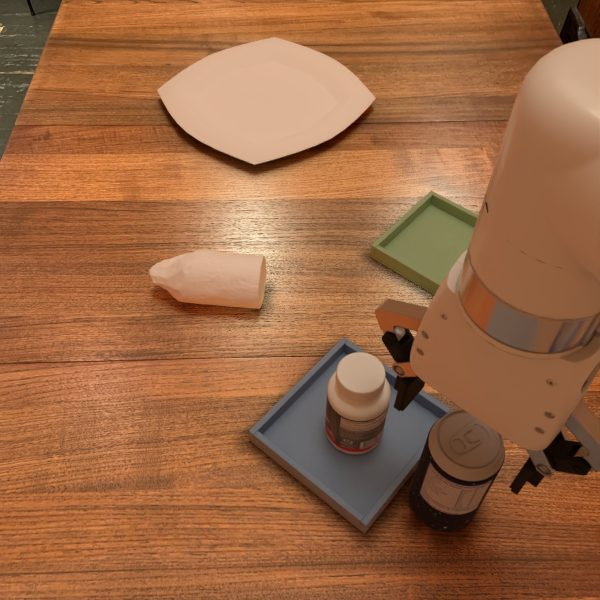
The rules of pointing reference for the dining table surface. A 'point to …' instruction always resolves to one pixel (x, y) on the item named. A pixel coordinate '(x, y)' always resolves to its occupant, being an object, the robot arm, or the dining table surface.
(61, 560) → the dining table surface
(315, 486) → the blue tray
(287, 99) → the plate
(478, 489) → the beverage can
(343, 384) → the pill bottle
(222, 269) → the pale pink bottle
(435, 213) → the green tray
